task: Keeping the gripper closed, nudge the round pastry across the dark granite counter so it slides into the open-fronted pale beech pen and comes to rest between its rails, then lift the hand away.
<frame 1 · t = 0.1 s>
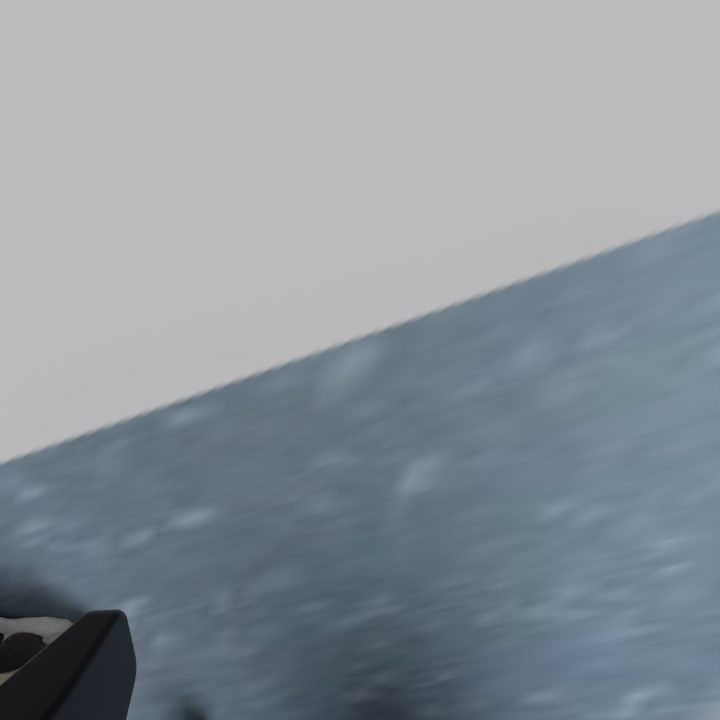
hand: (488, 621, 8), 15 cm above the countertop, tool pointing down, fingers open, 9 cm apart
pastry: (35, 672, 28), on the countertop
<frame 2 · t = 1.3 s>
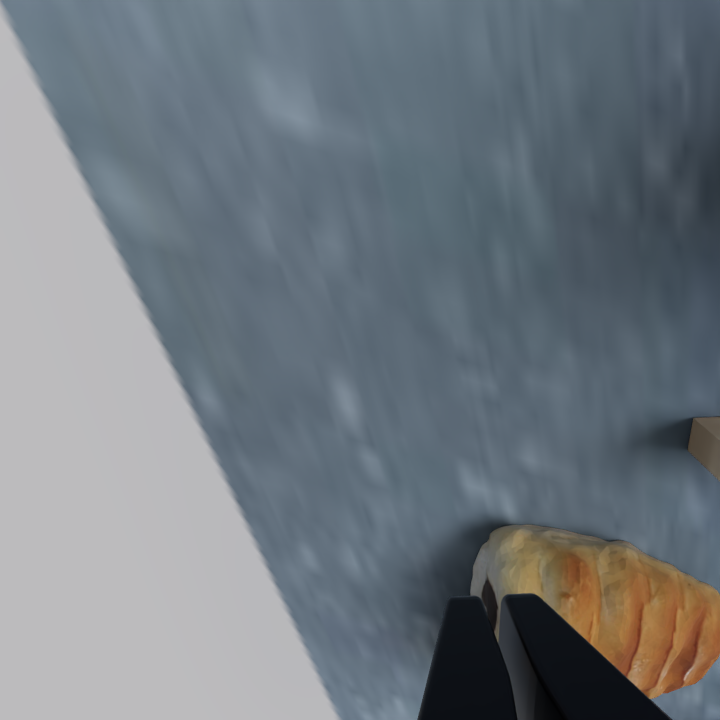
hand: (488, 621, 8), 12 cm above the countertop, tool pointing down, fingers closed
pastry: (564, 586, 23), on the countertop
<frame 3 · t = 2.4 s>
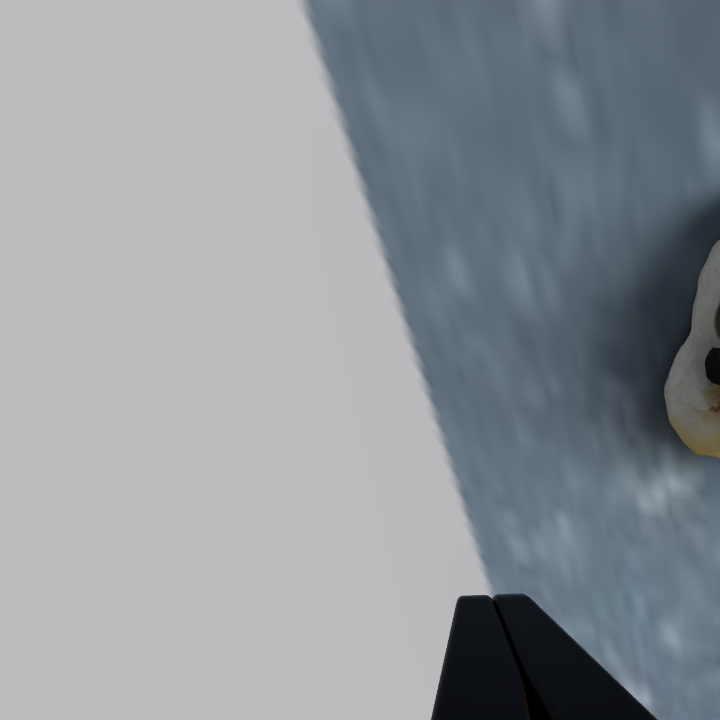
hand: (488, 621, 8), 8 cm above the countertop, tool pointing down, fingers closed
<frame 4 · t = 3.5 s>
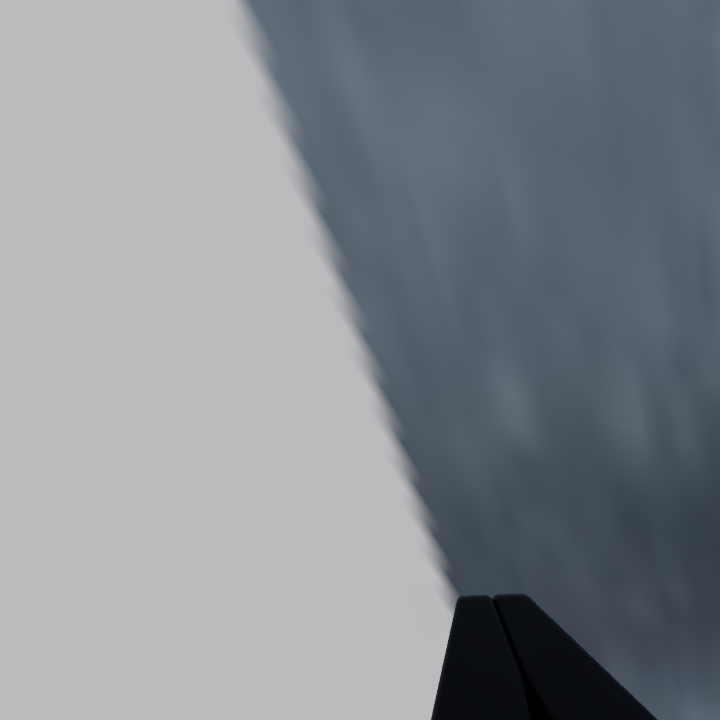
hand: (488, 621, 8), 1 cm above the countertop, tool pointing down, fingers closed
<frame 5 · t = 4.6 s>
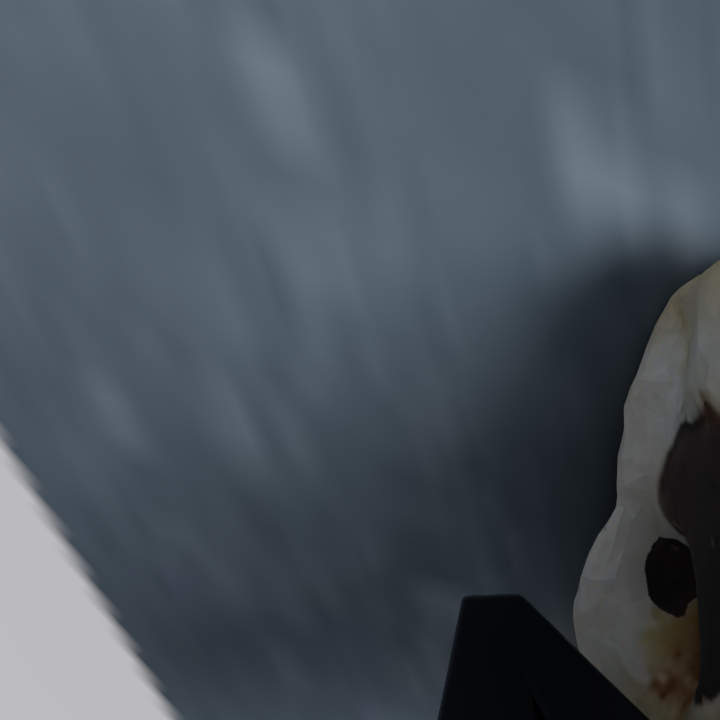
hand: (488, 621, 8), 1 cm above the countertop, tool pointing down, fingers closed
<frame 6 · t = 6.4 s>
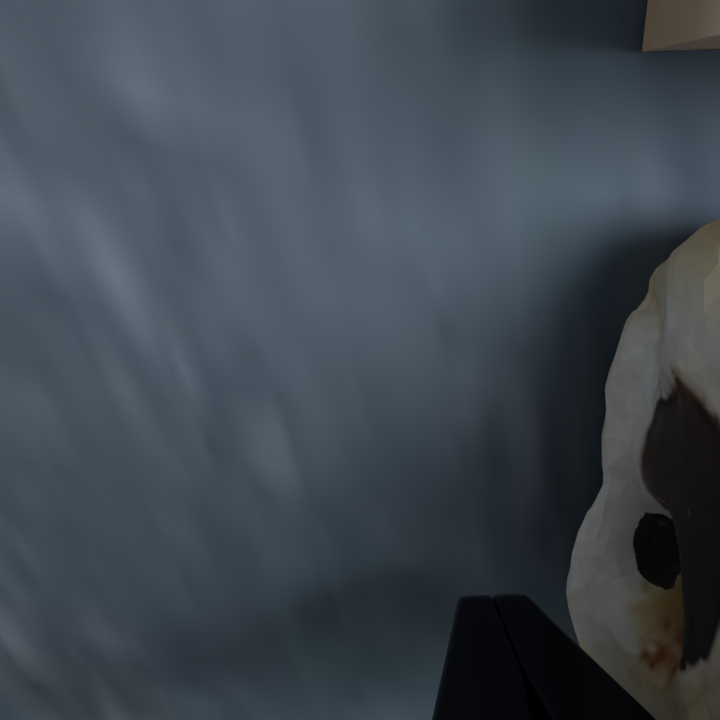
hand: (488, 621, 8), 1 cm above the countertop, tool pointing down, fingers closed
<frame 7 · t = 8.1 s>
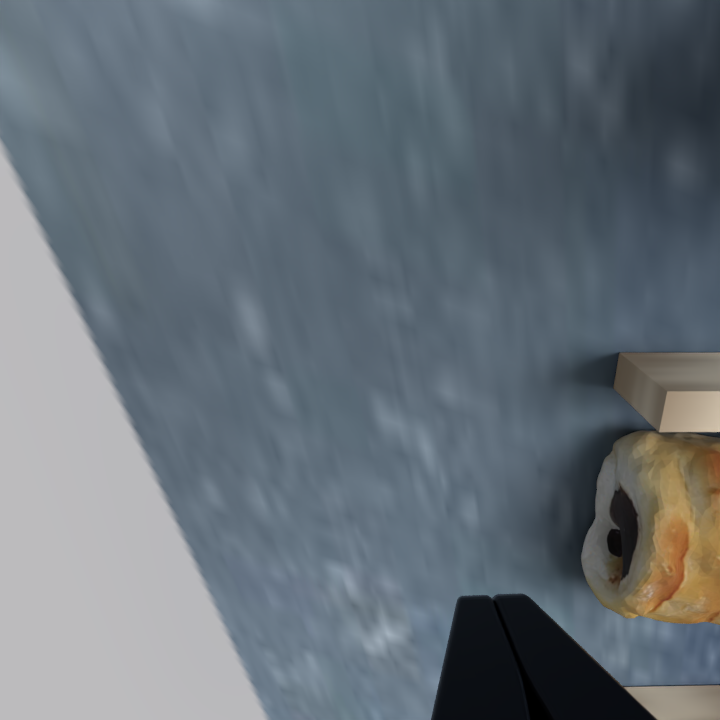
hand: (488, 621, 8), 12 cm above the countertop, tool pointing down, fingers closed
pastry: (692, 498, 22), on the countertop
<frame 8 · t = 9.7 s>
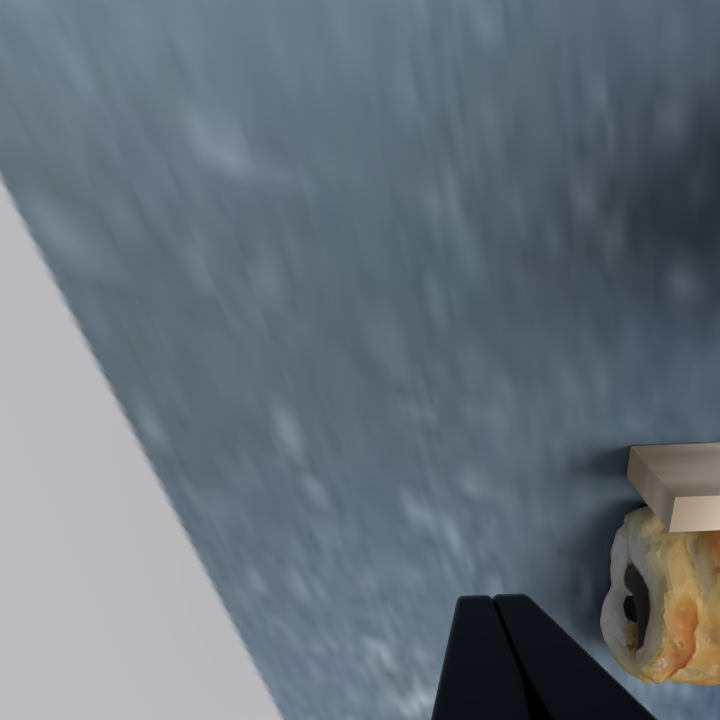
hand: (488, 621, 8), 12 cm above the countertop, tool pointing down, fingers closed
pastry: (703, 560, 23), on the countertop
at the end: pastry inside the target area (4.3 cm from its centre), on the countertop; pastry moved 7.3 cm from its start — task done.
